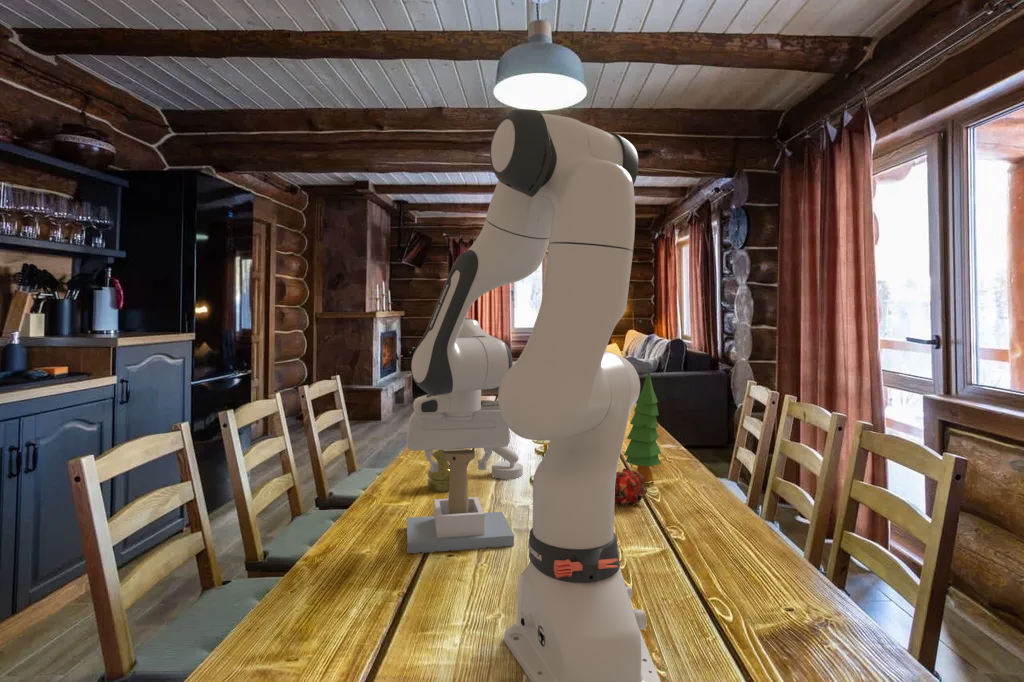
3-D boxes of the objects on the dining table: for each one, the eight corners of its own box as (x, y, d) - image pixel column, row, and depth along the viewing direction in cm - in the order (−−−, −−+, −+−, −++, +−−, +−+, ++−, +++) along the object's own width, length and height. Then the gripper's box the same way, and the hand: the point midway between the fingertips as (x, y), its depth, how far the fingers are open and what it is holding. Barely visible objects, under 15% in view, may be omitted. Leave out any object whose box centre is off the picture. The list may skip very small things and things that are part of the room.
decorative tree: (663, 486, 142) (665, 371, 141) (627, 486, 142) (629, 371, 141) (654, 475, 152) (656, 368, 150) (620, 475, 152) (622, 367, 150)
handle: (469, 532, 105) (469, 455, 105) (438, 528, 107) (438, 453, 107) (477, 523, 110) (478, 449, 109) (448, 520, 112) (448, 447, 111)
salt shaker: (460, 490, 137) (460, 451, 137) (431, 494, 135) (431, 453, 134) (452, 482, 144) (452, 444, 144) (424, 485, 141) (424, 447, 141)
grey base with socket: (514, 545, 104) (514, 514, 104) (407, 553, 100) (407, 521, 100) (501, 520, 117) (502, 493, 117) (406, 527, 113) (406, 498, 113)
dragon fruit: (638, 501, 135) (622, 524, 124) (610, 478, 137) (592, 498, 127) (657, 478, 131) (643, 500, 121) (629, 455, 134) (612, 474, 123)
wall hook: (498, 435, 158) (528, 439, 152) (498, 468, 158) (528, 473, 153) (481, 441, 150) (512, 445, 145) (481, 475, 151) (512, 481, 145)
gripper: (507, 397, 113) (507, 463, 113) (406, 399, 109) (406, 468, 109) (513, 402, 106) (513, 472, 107) (406, 404, 102) (406, 477, 103)
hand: (458, 470), depth 108 cm, fingers open, 8 cm apart
